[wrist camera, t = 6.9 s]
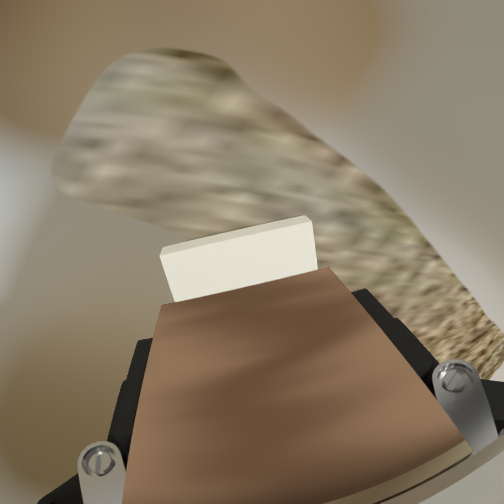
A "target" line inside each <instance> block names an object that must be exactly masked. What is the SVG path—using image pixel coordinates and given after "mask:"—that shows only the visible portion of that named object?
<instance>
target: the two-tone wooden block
mask: <svg viewBox="0 0 504 504" xmlns="http://www.w3.org/2000/svg"><path fill="white" fill-rule="evenodd" d="M472 453H473V450H472V448H471V447H470V445H469V444H468V443H467V441H466V440H465V438H464V437H463V435H462V434H461V433H460V431H459V430H458V428H457V427H456V426H455V424H454V423H453V421H452V420H451V419H450V417H449V416H448V415H447V413H446V412H445V410H444V409H443V408H442V406H441V405H440V404H439V402H438V401H437V400H436V398H435V397H434V396H433V394H432V393H431V392H430V390H429V389H428V388H427V386H426V385H425V384H424V382H423V381H422V380H421V379H420V377H419V376H418V375H417V373H416V372H415V371H414V369H413V368H412V367H411V366H410V364H409V363H408V362H407V361H406V359H405V358H404V357H403V355H402V354H401V353H400V352H399V350H398V349H397V348H396V347H395V345H394V344H393V343H392V342H391V340H390V339H389V338H388V337H387V335H386V334H385V333H384V332H383V331H382V329H381V328H380V327H379V326H378V324H377V323H376V322H375V321H374V320H373V318H372V317H371V316H370V315H369V313H368V312H367V311H366V310H365V309H364V307H363V306H362V305H361V304H360V303H359V302H358V300H357V299H356V298H355V297H354V296H353V294H352V293H351V292H350V291H349V290H348V289H347V287H346V286H345V285H344V284H343V283H342V281H341V280H340V279H339V278H338V277H337V276H336V275H335V273H334V272H333V271H332V270H331V269H330V268H329V267H326V268H322V269H318V270H314V271H310V272H306V273H302V274H298V275H293V276H289V277H285V278H281V279H277V280H273V281H268V282H264V283H260V284H256V285H251V286H247V287H243V288H238V289H234V290H229V291H225V292H220V293H216V294H211V295H207V296H202V297H198V298H193V299H188V300H184V301H179V302H174V303H169V304H164V305H162V306H161V310H160V313H159V317H158V320H157V324H156V328H155V333H154V336H153V340H152V344H151V348H150V352H149V357H148V361H147V365H146V370H145V374H144V378H143V383H142V388H141V392H140V397H139V402H138V407H137V412H136V417H135V422H134V428H133V433H132V439H131V444H130V450H129V456H128V463H127V469H126V476H125V483H124V490H123V498H122V504H380V503H383V502H385V501H388V500H390V499H392V498H395V497H397V496H399V495H401V494H403V493H406V492H408V491H410V490H412V489H414V488H416V487H418V486H420V485H422V484H424V483H426V482H428V481H430V480H432V479H433V478H435V477H437V476H439V475H441V474H442V473H444V472H446V471H448V470H449V469H451V468H453V467H455V466H456V465H458V464H460V463H461V462H463V461H465V460H466V459H468V458H469V457H470V456H471V454H472Z"/></svg>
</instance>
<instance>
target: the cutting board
mask: <svg viewBox="0 0 504 504" xmlns="http://www.w3.org/2000/svg"><path fill="white" fill-rule="evenodd" d="M160 259H161V262H162V266H163V269H164V272H165V274H166V278H167V281H168V284H169V287H170V289H171V293H172V295H173V298H174V301H175V302H179V301H184V300H188V299H193V298H198V297H202V296H207V295H211V294H216V293H220V292H225V291H229V290H234V289H238V288H243V287H247V286H251V285H256V284H260V283H264V282H268V281H273V280H277V279H281V278H285V277H289V276H293V275H298V274H302V273H306V272H310V271H314V270H318V268H317V259H316V251H315V243H314V235H313V228H312V221H311V220H309V219H308V218H307V217H306V216H305V215H304V216H299V217H294V218H289V219H285V220H280V221H275V222H271V223H266V224H262V225H257V226H253V227H248V228H244V229H239V230H235V231H230V232H226V233H222V234H217V235H213V236H208V237H204V238H200V239H196V240H191V241H187V242H183V243H179V244H175V245H170V246H166V247H163V249H162V251H161V253H160Z"/></svg>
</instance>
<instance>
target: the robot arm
mask: <svg viewBox="0 0 504 504" xmlns="http://www.w3.org/2000/svg"><path fill="white" fill-rule="evenodd" d="M351 293H352V294H353V296H354V297H355V298H356V299H357V300H358V302H359V303H360V304H361V305H362V306H363V307H364V309H365V310H366V311H367V312H368V313H369V315H370V316H371V317H372V318H373V320H374V321H375V322H376V323H377V324H378V326H379V327H380V328H381V329H382V331H383V332H384V333H385V334H386V335H387V337H388V338H389V339H390V340H391V342H392V343H393V344H394V345H395V347H396V348H397V349H398V350H399V352H400V353H401V354H402V355H403V357H404V358H405V359H406V361H407V362H408V363H409V364H410V366H411V367H412V368H413V369H414V371H415V372H416V373H417V375H418V376H419V377H420V379H421V380H422V381H423V382H424V384H425V385H426V386H427V388H428V389H429V390H430V392H431V393H432V394H433V396H434V397H435V398H436V400H437V401H438V402H439V404H440V405H441V406H442V408H443V409H444V410H445V412H446V413H447V415H448V416H449V417H450V419H451V420H452V421H453V423H454V424H455V426H456V427H457V428H458V430H459V431H460V433H461V434H462V435H463V437H464V438H465V440H466V441H467V443H468V444H469V445H470V447H471V448H472V450H473V453H472V454H471V456H470V457H469V458H468V459H466V460H465V461H463V462H461V463H460V464H458V465H456V466H455V467H453V468H451V469H449V470H448V471H446V472H444V473H442V474H441V475H439V476H437V477H435V478H433V479H432V480H430V481H428V482H426V483H424V484H422V485H420V486H418V487H416V488H414V489H412V490H410V491H408V492H406V493H403V494H401V495H399V496H397V497H395V498H392V499H390V500H388V501H385V502H383V503H380V504H504V382H499V381H491V380H484V379H480V377H479V374H478V372H477V370H476V369H475V367H474V366H472V365H471V364H470V363H468V362H466V361H463V360H458V359H452V360H447V361H444V362H442V363H441V364H439V363H438V361H437V360H436V359H435V358H434V357H433V356H432V355H431V353H430V352H429V351H428V350H427V349H426V348H425V347H424V346H423V345H422V343H421V342H420V341H419V340H418V339H417V338H416V337H415V336H414V335H413V334H412V332H411V331H410V330H409V329H408V328H407V327H406V326H405V325H404V324H403V323H402V322H401V321H400V320H399V319H398V318H393V317H392V316H391V314H390V313H389V312H388V311H387V310H386V309H385V308H384V307H383V306H382V305H381V304H380V303H379V302H378V300H377V299H376V298H375V297H374V296H373V295H372V294H371V293H370V292H369V291H368V290H367V289H361V290H358V291H354V292H351ZM152 340H153V338H150V339H143V340H139V341H138V342H137V345H136V348H135V351H134V355H133V358H132V361H131V365H130V368H129V372H128V375H127V379H126V380H125V381H124V382H123V383H122V385H121V389H120V393H119V396H118V400H117V404H116V407H115V411H114V415H113V419H112V423H111V427H110V431H109V435H108V439H107V441H100V442H95V443H93V444H90V445H88V446H87V447H86V448H85V449H84V450H83V451H82V452H81V454H80V456H79V459H78V474H76V475H75V476H74V477H72V478H71V479H69V480H68V481H67V482H65V483H64V484H62V485H61V486H59V487H58V488H56V489H55V490H53V491H52V492H50V493H49V494H47V495H46V496H44V497H43V498H42V499H41V500H39V501H38V503H37V504H122V498H123V490H124V483H125V476H126V469H127V463H128V456H129V450H130V444H131V439H132V433H133V428H134V422H135V417H136V412H137V407H138V402H139V397H140V392H141V388H142V383H143V378H144V374H145V370H146V365H147V361H148V357H149V352H150V348H151V344H152Z"/></svg>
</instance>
